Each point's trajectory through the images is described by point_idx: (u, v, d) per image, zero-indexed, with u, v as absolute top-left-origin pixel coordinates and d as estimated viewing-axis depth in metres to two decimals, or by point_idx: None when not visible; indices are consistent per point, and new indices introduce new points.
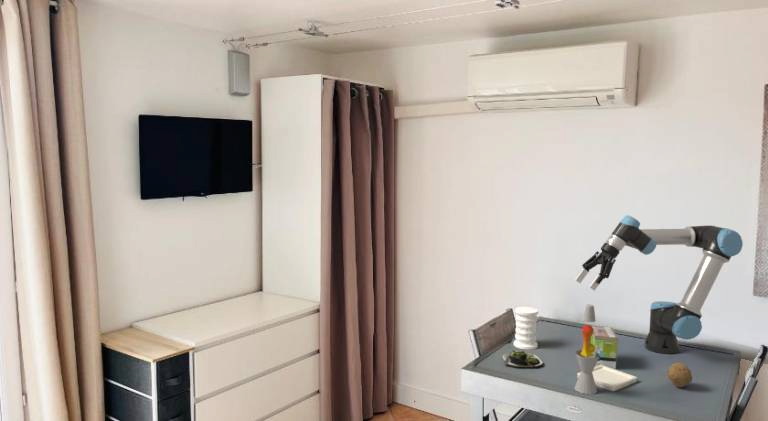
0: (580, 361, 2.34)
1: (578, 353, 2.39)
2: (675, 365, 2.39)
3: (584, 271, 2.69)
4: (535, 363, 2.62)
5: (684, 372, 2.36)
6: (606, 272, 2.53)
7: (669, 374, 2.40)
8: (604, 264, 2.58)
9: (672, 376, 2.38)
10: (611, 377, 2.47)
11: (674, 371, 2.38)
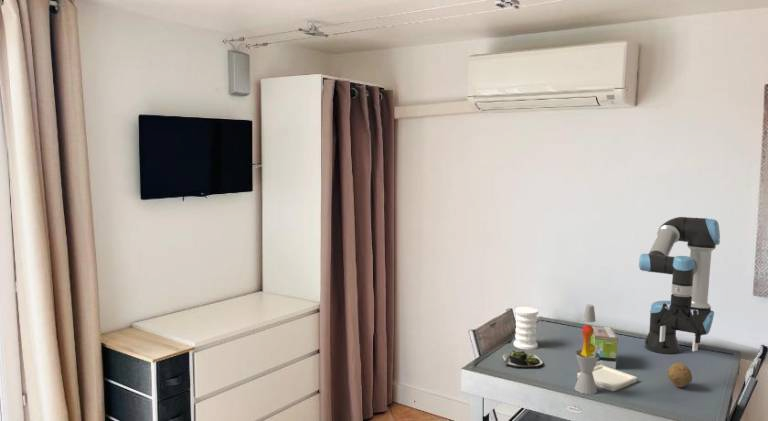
0: (580, 361, 2.34)
1: (578, 353, 2.39)
2: (675, 365, 2.39)
3: (663, 328, 2.44)
4: (535, 363, 2.62)
5: (684, 372, 2.36)
6: (702, 330, 2.30)
7: (669, 374, 2.40)
8: (690, 319, 2.34)
9: (672, 376, 2.38)
10: (611, 377, 2.47)
11: (674, 371, 2.38)
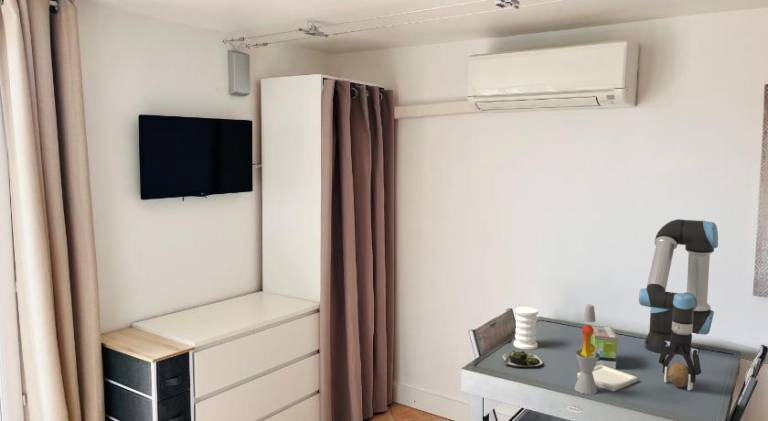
0: (580, 361, 2.34)
1: (578, 353, 2.39)
2: (675, 365, 2.39)
3: (667, 369, 2.44)
4: (535, 363, 2.62)
5: (684, 372, 2.36)
6: (698, 370, 2.33)
7: (669, 374, 2.40)
8: (688, 358, 2.36)
9: (672, 376, 2.38)
10: (611, 377, 2.47)
11: (674, 371, 2.38)
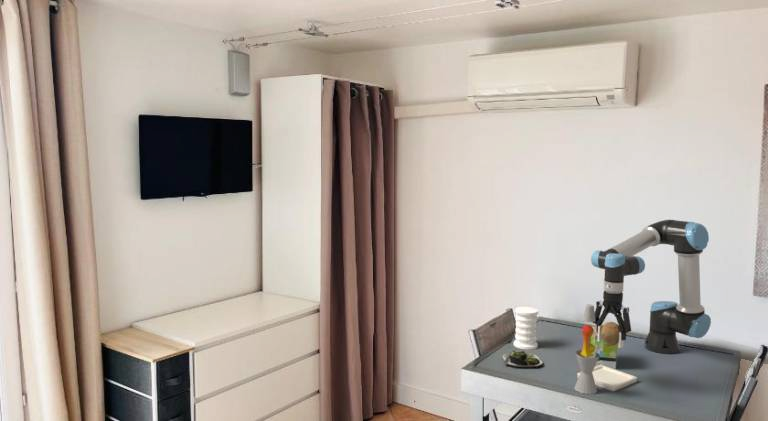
0: (580, 361, 2.34)
1: (578, 353, 2.39)
2: (607, 324, 2.44)
3: (600, 328, 2.48)
4: (535, 363, 2.62)
5: (615, 330, 2.40)
6: (628, 327, 2.38)
7: (601, 333, 2.44)
8: (619, 316, 2.41)
9: (604, 334, 2.43)
10: (611, 377, 2.47)
11: (605, 330, 2.42)
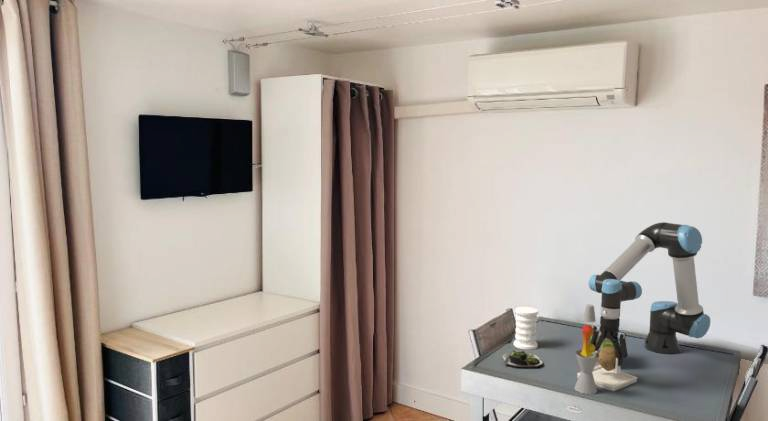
0: (580, 361, 2.34)
1: (578, 353, 2.39)
2: (604, 349, 2.45)
3: None
4: (535, 363, 2.62)
5: (612, 356, 2.42)
6: (624, 353, 2.39)
7: (598, 358, 2.46)
8: (615, 342, 2.42)
9: (600, 360, 2.44)
10: (611, 377, 2.47)
11: (602, 355, 2.44)
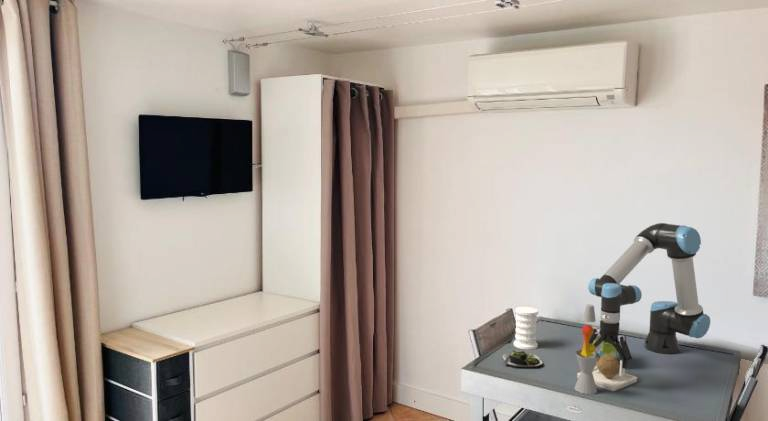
0: (580, 361, 2.34)
1: (578, 353, 2.39)
2: (604, 356, 2.45)
3: None
4: (535, 363, 2.62)
5: (612, 363, 2.42)
6: (628, 356, 2.38)
7: (598, 365, 2.46)
8: (617, 345, 2.42)
9: (600, 367, 2.44)
10: (611, 377, 2.47)
11: (602, 362, 2.44)
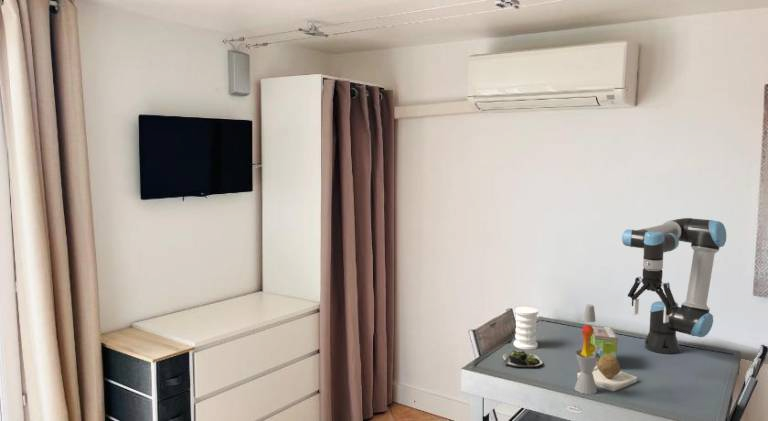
0: (580, 361, 2.34)
1: (578, 353, 2.39)
2: (604, 356, 2.45)
3: (636, 302, 2.52)
4: (535, 363, 2.62)
5: (612, 363, 2.42)
6: (672, 302, 2.39)
7: (598, 365, 2.46)
8: (660, 292, 2.43)
9: (600, 367, 2.44)
10: (611, 377, 2.47)
11: (602, 362, 2.44)
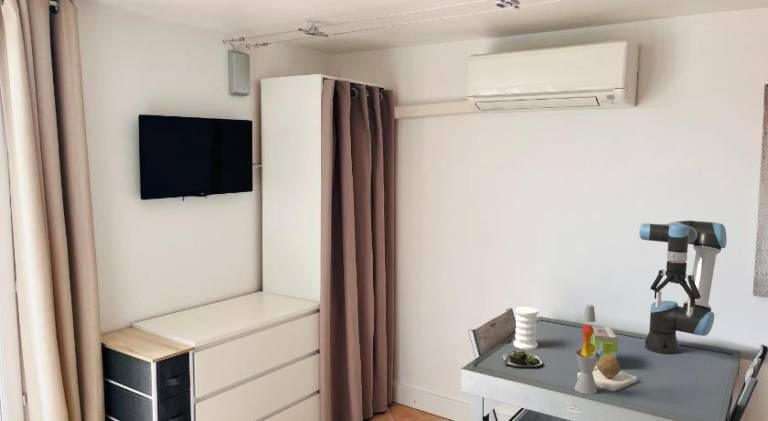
0: (580, 361, 2.34)
1: (578, 353, 2.39)
2: (604, 356, 2.45)
3: (659, 294, 2.53)
4: (535, 363, 2.62)
5: (612, 363, 2.42)
6: (697, 294, 2.40)
7: (598, 365, 2.46)
8: (685, 284, 2.44)
9: (600, 367, 2.44)
10: (611, 377, 2.47)
11: (602, 362, 2.44)
